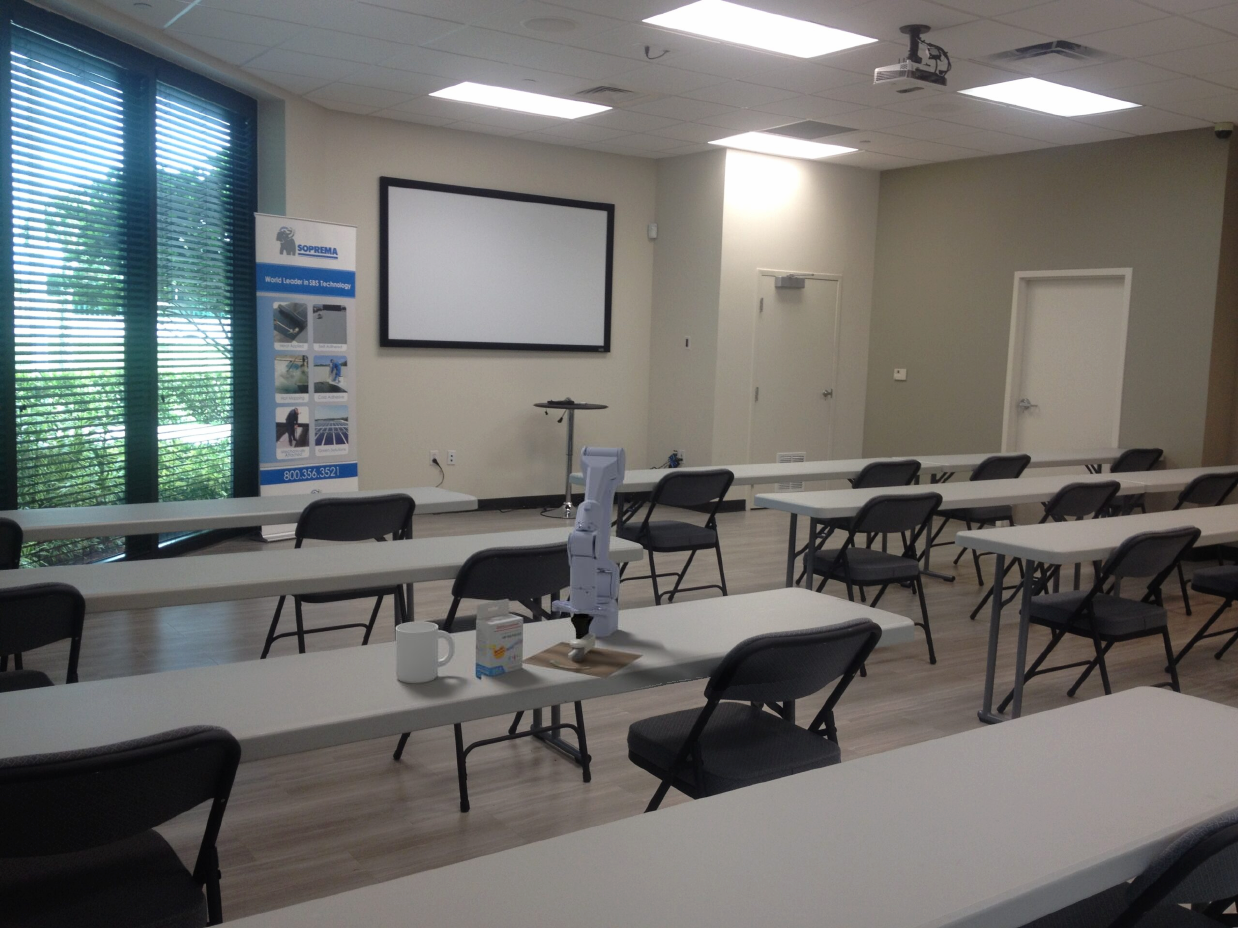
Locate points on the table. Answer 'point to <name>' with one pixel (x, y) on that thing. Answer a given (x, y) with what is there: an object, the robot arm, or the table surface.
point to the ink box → (498, 639)
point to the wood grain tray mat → (593, 664)
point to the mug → (420, 651)
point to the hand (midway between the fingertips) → (582, 647)
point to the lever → (581, 647)
